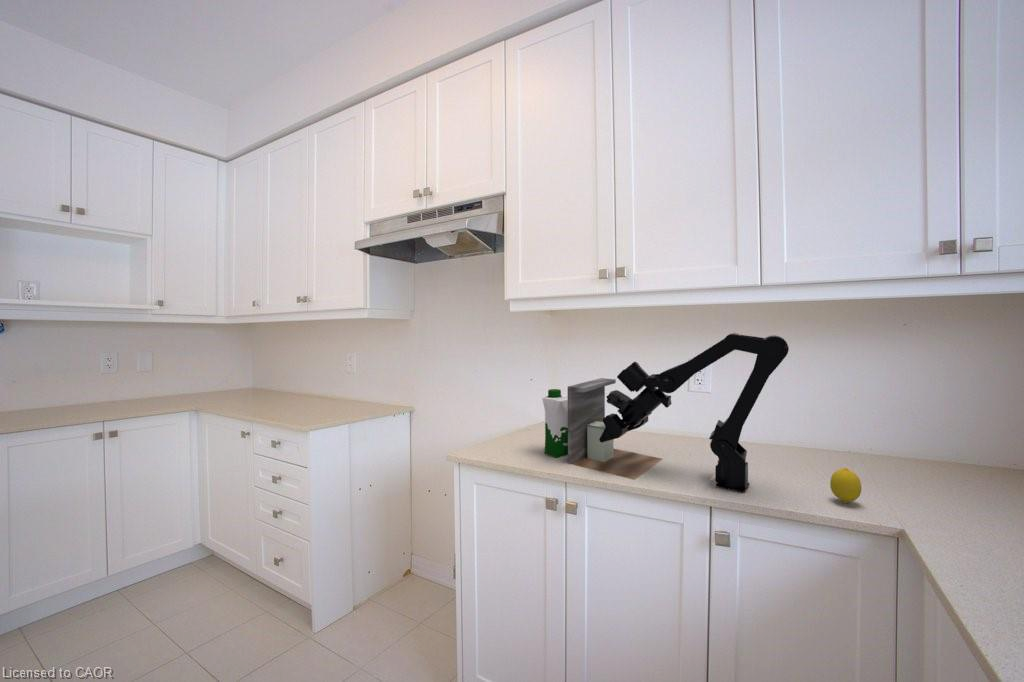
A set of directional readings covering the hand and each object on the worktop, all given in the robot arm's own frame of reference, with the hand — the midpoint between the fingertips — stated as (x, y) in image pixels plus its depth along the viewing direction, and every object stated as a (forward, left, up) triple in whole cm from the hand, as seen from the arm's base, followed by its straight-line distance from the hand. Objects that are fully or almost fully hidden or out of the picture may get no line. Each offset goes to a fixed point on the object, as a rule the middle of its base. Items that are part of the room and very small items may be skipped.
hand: (607, 437), depth 124 cm
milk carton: (+15, +2, -8) cm, 17 cm away
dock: (-3, 0, -7) cm, 8 cm away
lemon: (-55, -8, -8) cm, 56 cm away
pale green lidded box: (+2, 0, -6) cm, 7 cm away
